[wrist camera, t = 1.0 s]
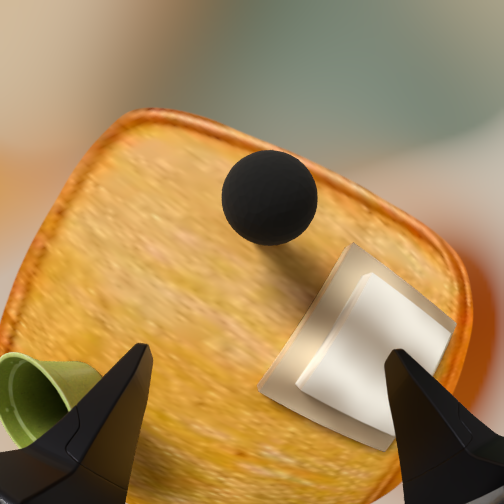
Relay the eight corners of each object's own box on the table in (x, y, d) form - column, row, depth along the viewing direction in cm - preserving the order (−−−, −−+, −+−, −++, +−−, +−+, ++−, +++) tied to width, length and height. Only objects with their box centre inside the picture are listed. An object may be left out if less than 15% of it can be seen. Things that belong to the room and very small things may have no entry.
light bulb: (280, 191, 25) (304, 123, 15) (304, 252, 24) (346, 211, 14) (217, 209, 24) (206, 145, 14) (238, 273, 23) (238, 245, 13)
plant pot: (117, 451, 19) (77, 494, 10) (43, 404, 19) (-9, 423, 10) (138, 373, 21) (91, 400, 12) (58, 327, 21) (-4, 327, 12)
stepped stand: (375, 444, 20) (394, 460, 16) (257, 385, 21) (260, 399, 17) (444, 323, 23) (469, 323, 19) (344, 247, 24) (363, 236, 20)
